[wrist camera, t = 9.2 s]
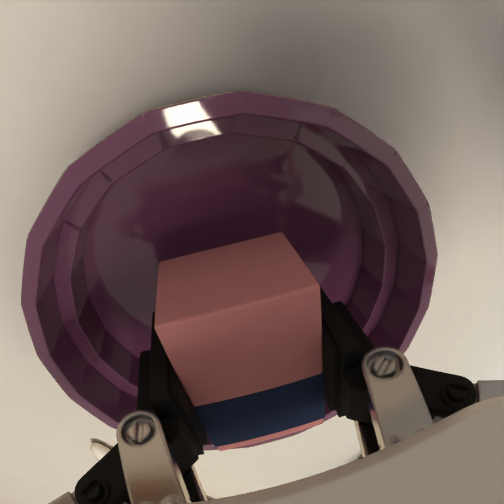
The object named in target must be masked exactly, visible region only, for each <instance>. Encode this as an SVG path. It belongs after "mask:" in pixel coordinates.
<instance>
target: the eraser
mask: <svg viewBox="0 0 504 504" xmlns="http://www.w3.org/2000/svg"><path fill="white" fill-rule="evenodd" d="M154 328H155V330H156V332H157V335H158V337H159V339H160V341H161V343H162V345H163V347H164V350H165V352H166V354H167V356H168V358H169V360H170V362H171V364H172V366H173V368H174V370H175V372H176V374H177V376H178V378H179V380H180V382H181V384H182V386H183V388H184V389H185V391H186V393H187V395H188V397H189V399H190V401H191V403H192V404H193V409H194V410H195V412H196V414H197V416H198V417H199V419H200V421H201V423H202V424H203V426H204V428H205V430H206V433H207V435H208V437H209V438H210V440H211V442H212V443H213V445H214V446H215V447H217V448H218V450H219V451H223V450H228V449H232V448H237V447H241V446H246V445H250V444H254V443H258V442H262V441H266V440H270V439H273V438H277V437H281V436H284V435H288V434H291V433H294V432H298V431H301V430H304V429H307V428H310V427H313V426H316V425H319V424H322V423H323V418H325V399H324V371H323V349H322V319H321V297H320V285H319V284H318V282H317V281H316V279H315V278H314V276H313V275H312V274H311V272H310V271H309V269H308V268H307V266H306V265H305V264H304V262H303V261H302V259H301V258H300V256H299V255H298V254H297V252H296V251H295V249H294V248H293V247H292V245H291V244H290V242H289V241H288V240H287V238H286V237H285V235H284V234H283V233H282V232H279V233H275V234H271V235H267V236H263V237H259V238H254V239H250V240H246V241H242V242H238V243H234V244H230V245H226V246H222V247H218V248H214V249H210V250H206V251H202V252H197V253H193V254H189V255H185V256H181V257H177V258H173V259H169V260H165V261H162V262H160V263H159V269H158V281H157V294H156V309H155V326H154Z"/></svg>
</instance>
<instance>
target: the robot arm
mask: <svg viewBox="0 0 504 504" xmlns="http://www.w3.org/2000/svg"><path fill="white" fill-rule="evenodd" d="M311 274H312V273H311ZM316 281H317V280H316ZM318 284H319V283H318ZM320 297H321V319H322V349H323V371H324V399H325V401H326V403H327V405H328V407H329V409H330V411H334V410H336V412H337V414H338V416H339V417H342V416H345V415H346V417H347V418H348V419H351V420H354V422H355V427H356V431H357V435H358V439H359V444H360V448H361V453H362V457H363V458H361V459H358V460H355V461H353V462H350V463H348V464H345V465H342V466H340V467H337V468H334V469H331V470H328V471H326V472H323V473H320V474H317V475H314V476H310V477H307V478H304V479H301V480H297V481H294V482H290V483H287V484H283V485H279V486H276V487H272V488H268V489H264V490H259V491H255V492H250V493H246V494H241V495H236V496H231V497H225V498H220V499H214V500H208V499H207V497H206V495H205V492H204V490H203V487H202V485H201V483H200V480H199V478H198V475H197V473H196V470H195V467H194V465H193V464H194V463H195V462H196V461H197V460H198V459H199V458H198V455H201V454H204V451H203V446H204V445H207V436H206V430H205V428H204V426H203V424H202V423H201V421H200V419H199V417H198V416H197V414H196V412H195V410H194V409H193V404H192V403H191V401H190V399H189V397H188V395H187V393H186V391H185V389H184V388H183V386H182V384H181V382H180V380H179V378H178V376H177V374H176V372H175V370H174V368H173V366H172V364H171V362H170V360H169V358H168V356H167V354H166V352H165V350H164V347H163V345H162V343H161V341H160V339H159V337H158V335H157V332H156V330H155V328H154V326H155V312H153V314H152V328H151V347H150V350H146V351H142V352H141V353H140V360H139V376H138V395H137V411H133V412H131V413H129V414H127V415H126V416H125V417H124V418H122V420H121V421H120V422H119V424H118V427H117V435H116V436H117V441H118V443H117V444H116V445H115V446H114V447H113V448H112V449H111V450H110V451H109V452H108V453H107V454H106V455H105V456H104V457H103V458H102V459H101V460H99V461H98V462H97V463H96V464H95V465H94V466H93V467H92V468H91V469H90V470H89V471H88V472H87V473H86V474H85V475H84V476H83V477H82V478H81V479H80V480H79V481H78V482H77V485H76V487H75V492H73V493H70V492H67V493H65V494H64V495H62V496H60V497H59V498H57V499H55V500H54V501H52V502H50V503H49V504H504V380H490V381H477V383H476V384H473V383H472V382H471V381H470V380H468V379H467V378H465V377H462V376H458V375H453V374H448V373H443V372H438V371H433V370H429V369H424V368H419V367H415V366H410V365H409V363H408V361H407V358H406V357H405V355H404V354H403V353H402V352H401V351H399V350H398V349H395V348H393V347H387V346H382V347H376V348H375V347H374V346H373V344H372V343H371V342H370V340H369V339H368V337H367V336H366V334H365V333H364V332H363V330H362V329H361V327H360V326H359V325H358V323H357V322H356V320H355V319H354V318H353V316H352V315H351V313H350V312H349V311H348V309H347V308H346V306H345V305H344V304H343V303H342V302H341V301H337V302H334V303H332V302H331V301H330V299H329V298H328V296H327V295H326V293H325V292H324V291H323V289H322V288H321V286H320Z"/></svg>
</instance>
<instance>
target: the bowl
mask: <svg viewBox="0 0 504 504" xmlns="http://www.w3.org/2000/svg"><path fill="white" fill-rule="evenodd" d="M279 232H282V233H283V234H284V235H285V237H286V238H287V240H288V241H289V242H290V244H291V245H292V247H293V248H294V249H295V251H296V252H297V254H298V255H299V256H300V258H301V259H302V261H303V262H304V264H305V265H306V266H307V268H308V269H309V271H310V272H311V273H312V275H313V276H314V278H315V279H316V280H317V282H318V283H319V285H320V286H321V288H322V289H323V291H324V292H325V293H326V295H327V296H328V298H329V299H330V301H331V302H332V303H334V302H337V301H341V302H342V303H343V304H344V305H345V306H346V308H347V309H348V311H349V312H350V313H351V315H352V316H353V318H354V319H355V320H356V322H357V323H358V325H359V326H360V327H361V329H362V330H363V332H364V333H365V334H366V336H367V337H368V339H369V340H370V342H371V343H372V344H373V346H374V347H375V348H376V347H382V346H387V347H393V348H395V349H398V350H399V351H401V352H402V353H403V354H404V353H405V351H406V350H407V348H408V347H409V345H410V344H411V342H412V340H413V338H414V336H415V334H416V332H417V330H418V328H419V326H420V324H421V322H422V320H423V317H424V315H425V313H426V311H427V309H428V307H429V303H430V298H431V293H432V287H433V282H434V276H435V270H436V263H437V255H438V254H437V247H436V240H435V234H434V228H433V222H432V217H431V211H430V206H429V203H428V201H427V199H426V197H425V196H424V194H423V192H422V191H421V189H420V187H419V186H418V184H417V182H416V181H415V179H414V177H413V176H412V174H411V173H410V171H409V169H408V168H407V166H406V165H405V163H404V162H403V160H402V159H401V157H400V156H399V154H398V153H397V151H395V149H394V148H393V147H392V146H390V145H389V144H387V143H386V142H385V141H383V140H382V139H380V138H379V137H378V136H376V135H375V134H373V133H372V132H371V131H369V130H368V129H366V128H365V127H363V126H362V125H360V124H359V123H357V122H356V121H354V120H353V119H351V118H350V117H348V116H347V115H345V114H344V113H342V112H340V111H339V110H337V109H336V108H332V107H331V106H327V105H322V104H318V103H313V102H309V101H304V100H299V99H294V98H289V97H283V96H278V95H272V94H266V93H260V92H253V91H246V90H245V91H232V92H224V93H219V94H213V95H208V96H204V97H199V98H194V99H190V100H185V101H181V102H177V103H173V104H169V105H165V106H161V107H157V108H154V109H151V110H148V111H146V112H144V113H141V114H140V115H138V116H137V117H135V118H134V119H132V120H131V121H129V122H128V123H126V124H125V125H123V126H122V127H120V128H119V129H117V130H116V131H115V132H113V133H112V134H110V135H109V136H107V137H106V138H105V139H103V140H102V141H101V142H99V143H98V144H97V145H95V146H94V147H92V148H91V149H90V150H89V151H87V152H86V153H85V154H83V155H82V156H81V157H79V158H78V159H77V160H76V161H74V162H73V163H72V164H71V165H69V166H68V167H67V169H66V170H65V171H64V173H63V174H62V176H61V177H60V179H59V181H58V182H57V184H56V186H55V187H54V189H53V191H52V192H51V194H50V196H49V197H48V199H47V201H46V203H45V204H44V206H43V208H42V210H41V211H40V213H39V215H38V217H37V219H36V221H35V222H34V224H33V226H32V228H31V230H30V232H29V234H28V238H27V241H26V249H25V257H24V267H23V278H22V291H21V305H22V309H23V313H24V316H25V320H26V323H27V326H28V329H29V333H30V336H31V339H32V342H33V345H34V348H35V351H36V353H37V356H38V357H39V359H40V360H41V362H42V363H43V365H44V366H45V367H46V369H47V370H48V371H49V373H50V374H51V375H52V377H53V378H54V379H55V380H56V382H57V383H58V384H59V386H60V387H61V388H62V389H63V391H64V392H65V393H66V394H67V396H68V397H70V399H72V400H73V401H74V402H76V403H77V404H78V405H80V406H81V407H82V408H84V409H85V410H87V411H88V412H89V413H91V414H92V415H94V416H95V417H96V418H98V419H99V420H101V421H102V422H104V423H105V424H107V425H108V426H110V427H112V428H114V429H117V427H118V424H119V422H120V421H121V420H122V418H124V417H125V416H126V415H127V414H129V413H131V412H133V411H137V395H138V376H139V360H140V353H141V352H142V351H146V350H150V347H151V328H152V314H153V312H155V309H156V294H157V281H158V269H159V263H160V262H162V261H165V260H169V259H173V258H177V257H181V256H185V255H189V254H193V253H197V252H202V251H206V250H210V249H214V248H218V247H222V246H226V245H230V244H234V243H238V242H242V241H246V240H250V239H254V238H259V237H263V236H267V235H271V234H275V233H279ZM336 415H338V414H337V412H336V410H334V411H330V409H329V407H328V405H327V403H326V401H325V418H323V422H324V421H326V420H328V419H330V418H332V417H334V416H336ZM313 427H314V426H313ZM310 428H312V427H310ZM310 428H307V429H304V430H301V431H298V432H294V433H291V434H288V435H284V436H281V437H277V438H273V439H270V440H266V441H262V442H258V443H254V444H250V445H246V446H241V447H237V448H247V447H253V446H257V445H261V444H265V443H269V442H272V441H276V440H280V439H283V438H287V437H290V436H294V435H296V434H299V433H301V432H303V431H306V430H308V429H310ZM206 436H207V445H204V446H203V450H218V448H217V447H215V446H214V445H213V443H212V442H211V440H210V438H209V437H208V435H207V433H206ZM232 449H236V448H232Z"/></svg>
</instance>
